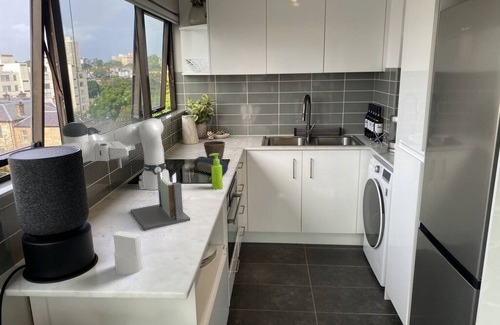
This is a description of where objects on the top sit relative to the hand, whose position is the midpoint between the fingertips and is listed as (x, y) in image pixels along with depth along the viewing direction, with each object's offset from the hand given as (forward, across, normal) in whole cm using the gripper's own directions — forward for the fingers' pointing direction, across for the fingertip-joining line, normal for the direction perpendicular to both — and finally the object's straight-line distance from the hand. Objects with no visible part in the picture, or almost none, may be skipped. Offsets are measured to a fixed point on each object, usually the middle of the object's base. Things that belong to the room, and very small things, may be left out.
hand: (134, 146), depth 159 cm
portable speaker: (+58, -50, -32) cm, 84 cm away
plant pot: (+70, -69, -32) cm, 103 cm away
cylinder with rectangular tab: (-15, +46, -32) cm, 58 cm away
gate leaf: (+11, +7, -30) cm, 33 cm away
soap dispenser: (+47, -18, -32) cm, 60 cm away
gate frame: (+7, +6, -32) cm, 33 cm away
